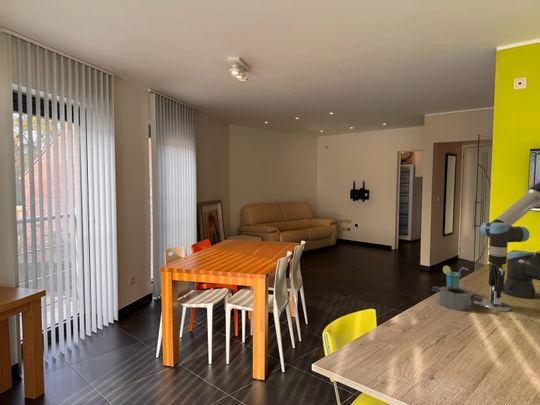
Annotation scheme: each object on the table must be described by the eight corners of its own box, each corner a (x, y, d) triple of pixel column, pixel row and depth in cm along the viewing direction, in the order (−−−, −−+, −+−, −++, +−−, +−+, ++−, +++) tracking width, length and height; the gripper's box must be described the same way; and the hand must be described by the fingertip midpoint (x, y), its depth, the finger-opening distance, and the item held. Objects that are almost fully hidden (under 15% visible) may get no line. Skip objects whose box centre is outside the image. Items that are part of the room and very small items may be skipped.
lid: (504, 303, 183) (505, 283, 183) (515, 313, 171) (516, 290, 170) (475, 301, 186) (476, 281, 186) (484, 310, 174) (485, 288, 173)
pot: (426, 302, 184) (426, 288, 183) (439, 296, 194) (439, 283, 193) (474, 315, 167) (475, 300, 166) (486, 307, 177) (487, 293, 176)
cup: (470, 294, 197) (471, 267, 196) (465, 297, 191) (466, 269, 190) (443, 288, 207) (444, 262, 206) (438, 291, 202) (439, 264, 201)
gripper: (482, 250, 186) (480, 295, 188) (495, 258, 169) (493, 307, 170) (499, 251, 185) (496, 296, 186) (514, 259, 167) (511, 309, 169)
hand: (495, 302), depth 178 cm, fingers open, 5 cm apart
